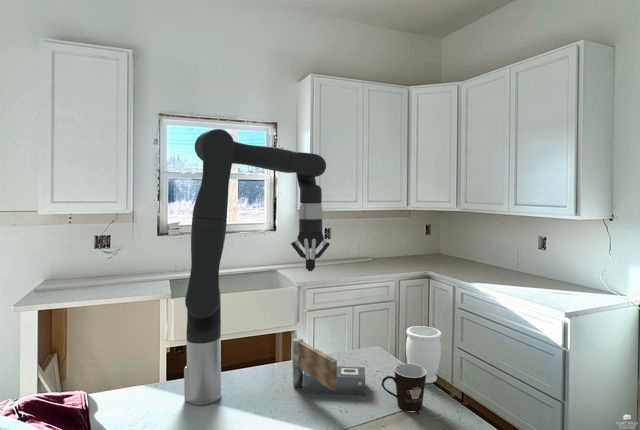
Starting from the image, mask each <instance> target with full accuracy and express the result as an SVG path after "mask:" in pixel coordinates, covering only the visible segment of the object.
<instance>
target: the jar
mask: <svg viewBox="0 0 640 430" xmlns="http://www.w3.org/2000/svg"><path fill="white" fill-rule="evenodd" d="M405 333H406V335H407V338H406V344H405V351H406V352H405V354H406V360H407V363H408V364H415V365H419V366H421V367H423V368H424V369H425V370H426V371H427V373H426V381H425V384H432V383H435V382H436V381H437V380H438V377H437V372H438V371H439V367H440V361H441V356H442V347H441V346H442V344H441V340H440V338H441V337H442V332H441V331H440V330H439V329H437V328H434V327H431V326H424V325H415V326H414V325H413V326H410V327H408V328H406V331H405ZM428 381H429V382H428Z"/></svg>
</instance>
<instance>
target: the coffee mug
mask: <svg viewBox="0 0 640 430" xmlns="http://www.w3.org/2000/svg"><path fill="white" fill-rule="evenodd" d="M393 369H394V370H393V371H394V376H391V375H387V376H385V377H384V378H383V379H382V381H381V387H382V389H383V390H384V391H385V392H386V393H388V394H389V395H392V396H393V397H395V398H396V399H397V407H398V408H399V409H400V410H402V411H403V412H406V411H416V412H415V413H419V412H420V411H422V409H423V401H424V394H425V387H426V383H425V381H426V373H427V371H426V370H425V369H424V368H423V367H421V366H419V365H415V364H408V362H407V363H400V364H397V365H395V366H394V368H393ZM388 379H391V380H393V382H394V383H395V389H396V393H394V392H392V391H390V390H388V389H387V388H386V387H385V382H386V381H387V380H388Z"/></svg>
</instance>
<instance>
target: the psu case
mask: <svg viewBox="0 0 640 430" xmlns="http://www.w3.org/2000/svg"><path fill="white" fill-rule="evenodd" d="M302 392H303V393H315V394H332V395H333V394H335V395H336V394H337V395H355V396H356V395H357V396H365V395H366V366H365V367H361V366H344V365H343V366H339V365H337V389H336V390H333V391H332V390H330V389H329V388H327V387H326V386H324V385H323V384H321V383H320V382H318V381H317V380H316V379H314V378H313V377H311V376H310V375H308V374H307V373H305V372H304V371H303V387H302Z"/></svg>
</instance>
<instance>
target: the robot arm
mask: <svg viewBox="0 0 640 430" xmlns="http://www.w3.org/2000/svg"><path fill="white" fill-rule="evenodd" d="M194 151H195V154H196V156H197V157H198V159H199V160H201V161H202V175H201V176H202V178H201V183H200V186H199V189H198V193H197V196H196V198H195V202H194V205H193V209H192V216H191V231H190V254H191V255H190V257H191V258H190V259H191V263H190V274H189V281H188V284H187V290H186V294H185V299H184V303H185V304H184V305H185V307H186V313H187V315H186V318H187V320H186V329H185V330H186V365H185V367H184V368H183V375H184V376H183V381H184V383H183V388H184V389H183V391H184V392H183V393H184V394H183V395H184V396H183V397H184V402H187V403H189V404H191V405H194V406H205V405H209V404H213V403H215V402H217V401H219V400H220V398H221V397H222V363H221V362H222V354H221V353H222V352H221V350H222V344H221V343H222V340H221V338H222V335H221V334H222V333H221V331H222V329H221V326H222V322H221V321H222V319H221V312H222V311H221V308H222V307H221V301H222V299H221V290H220V285H219V284H220V275H219V274H220V265H221V259H222V254H223V250H224V246H225V239H226V232H227V222H228V221H227V220H228V208H229V205H228V204H229V187H230V186H229V185H230V179H231V172H232V167H233V164H234V165H243V166H249V167H254V168H259V169H265V170H269V171H274V172H277V173H278V172H279V173H284V174H286V173H287V174H293V173H294V174H296V178H297V183H298V187H299V209H298V235H297V239H294V241H291V243H290V244H291V246H292V248H293V249H294V250H295V251H296V253H297V254H298V256H300V258H303V259H305V269H306V270H307V271H308V272H313V271H314V269H315V268H316V260H317V259H319V258H321V256H322V255H323V254H324V253H325V252H326V250H327V249H328V248H329V247H330V245H331V244H330V243H331V242H329V241H327V240H326V239H325V236H324V235H323V217H324V215H323V204H322V201H323V200H322V199H323V198H322V194H323V193H322V190H323V189H322V187H321V186H320V185H319V184H317V181H316V177H320V176H322V175H323V174H324V173H325V172H326V169H327V163H326V160H325V159H324V158H323V156H321V155H319V154H316V153H310V152H303V151H299V152H298V151H294V150H293V151H292V150H289V149H286V148H280V147H276V146H267V145H256V144H248V143H244V142H238V141H235V140H234V138H233V136H232V134H231V133H229V132H228V131H227V130H225V129H222V128H213V129H210V130H207V131H205V132H203V133H201V134H200V135H199V136H198V137H197V138H196V139H195V142H194ZM321 243H322V244H321ZM300 245H301V246H302V248H304V251H303V249H301V247H300ZM320 246H322V248H321V249H320V250H319V251H318V253H317V249H318V248H319V247H320Z"/></svg>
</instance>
